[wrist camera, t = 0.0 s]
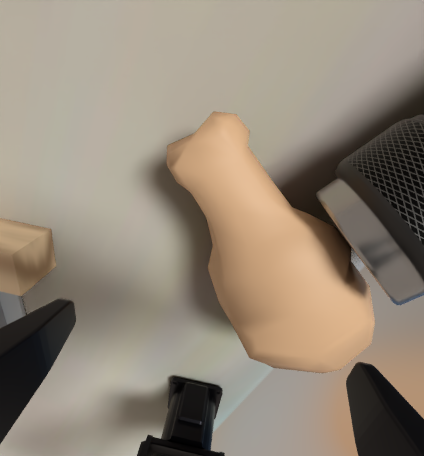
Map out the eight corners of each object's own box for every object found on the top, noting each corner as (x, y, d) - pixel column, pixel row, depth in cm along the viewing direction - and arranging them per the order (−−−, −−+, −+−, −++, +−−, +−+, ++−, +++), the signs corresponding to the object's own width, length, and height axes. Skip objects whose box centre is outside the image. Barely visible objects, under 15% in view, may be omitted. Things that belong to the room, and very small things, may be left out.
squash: (261, 326, 28) (266, 418, 20) (143, 163, 21) (80, 202, 13) (367, 288, 24) (426, 384, 16) (261, 80, 18) (270, 64, 10)
